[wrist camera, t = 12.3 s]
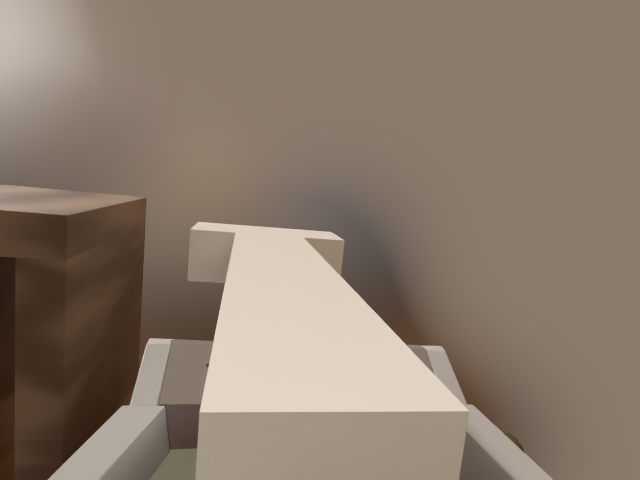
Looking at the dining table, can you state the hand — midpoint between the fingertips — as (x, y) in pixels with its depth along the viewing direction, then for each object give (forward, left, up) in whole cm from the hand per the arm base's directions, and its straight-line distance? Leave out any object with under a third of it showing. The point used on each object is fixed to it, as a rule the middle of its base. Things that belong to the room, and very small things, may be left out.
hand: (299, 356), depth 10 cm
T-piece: (0, +7, -2) cm, 7 cm away
